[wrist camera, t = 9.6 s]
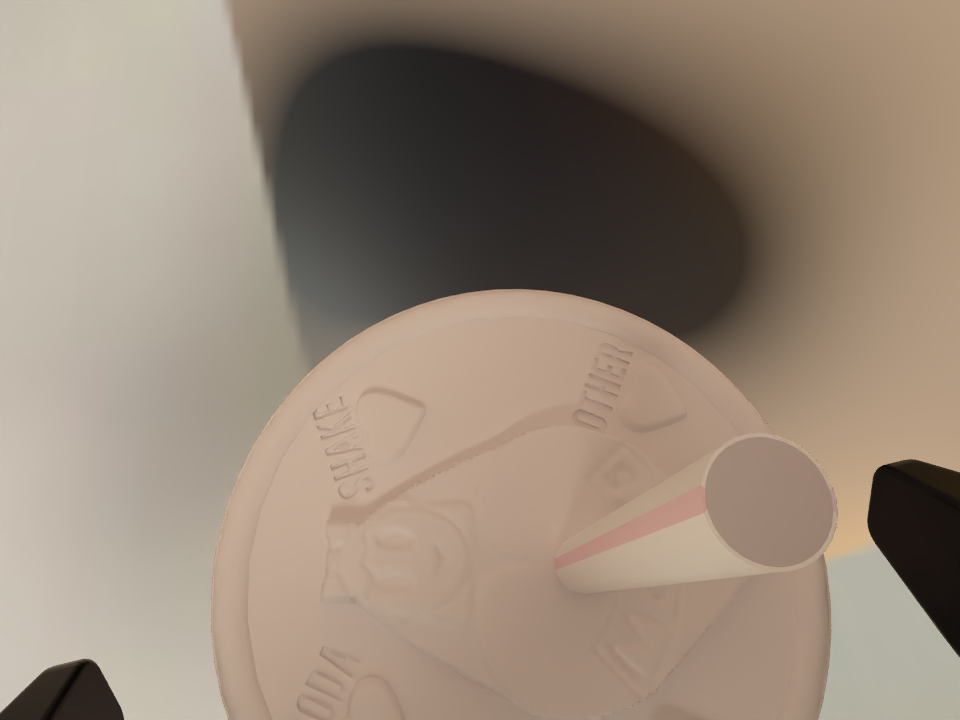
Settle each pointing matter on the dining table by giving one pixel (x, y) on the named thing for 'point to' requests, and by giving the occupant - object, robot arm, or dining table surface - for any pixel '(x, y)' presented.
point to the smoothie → (522, 531)
